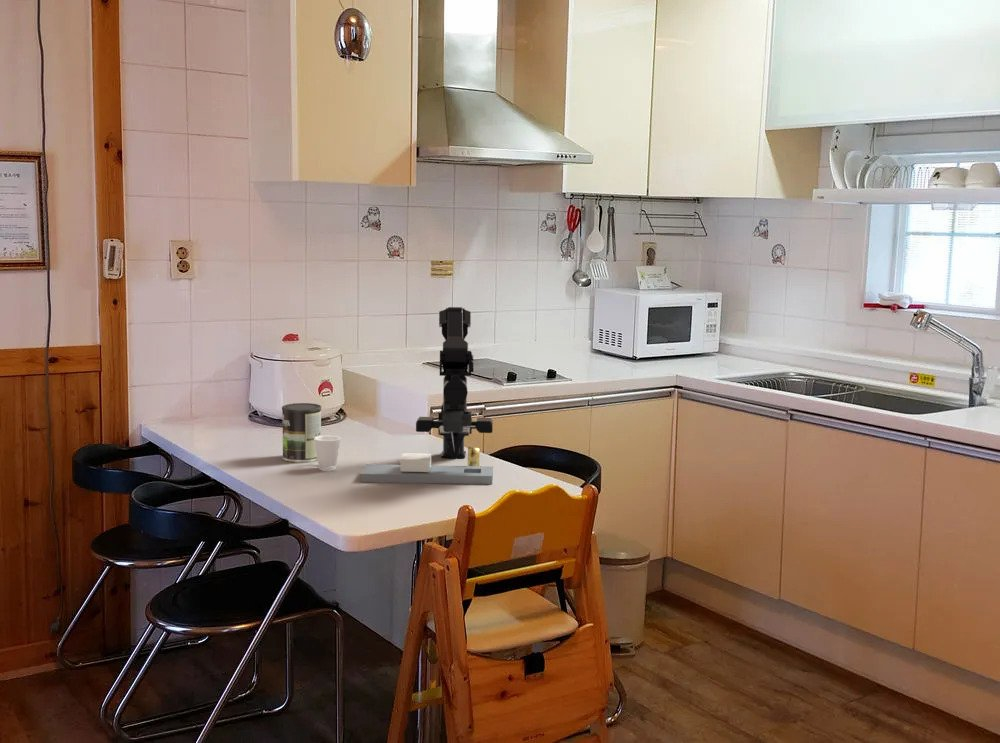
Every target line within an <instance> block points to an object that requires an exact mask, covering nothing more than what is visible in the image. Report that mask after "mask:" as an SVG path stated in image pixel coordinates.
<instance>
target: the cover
mask: <svg viewBox="0 0 1000 743" xmlns="http://www.w3.org/2000/svg"><path fill="white" fill-rule="evenodd" d="M399 462H400V464H399V465H400V471H403V472H429V471H430V467H431V465H432V453H426V452H425V453H417V452H416V453H414V452H403V453H402V455H401V457H400V461H399Z"/></svg>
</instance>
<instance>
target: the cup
mask: <svg viewBox="0 0 1000 743" xmlns="http://www.w3.org/2000/svg"><path fill="white" fill-rule="evenodd" d="M314 442H315V448H316V455H317V463H318V464H317V465H318V466H319V468H318V470H320V471H323V472H329V471H330V472H332V471H336V469H337V467H336V465H337V463H338V457H339V453H340V452H339V450H340V443H341V436H337V435H321V436H318V437H315V438H314Z"/></svg>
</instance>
